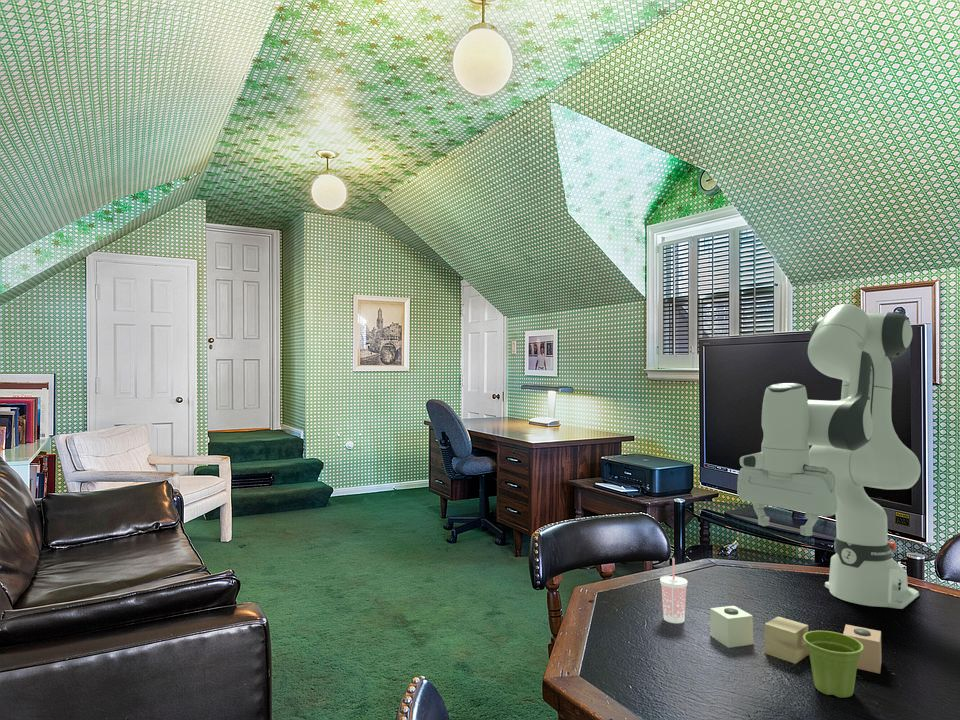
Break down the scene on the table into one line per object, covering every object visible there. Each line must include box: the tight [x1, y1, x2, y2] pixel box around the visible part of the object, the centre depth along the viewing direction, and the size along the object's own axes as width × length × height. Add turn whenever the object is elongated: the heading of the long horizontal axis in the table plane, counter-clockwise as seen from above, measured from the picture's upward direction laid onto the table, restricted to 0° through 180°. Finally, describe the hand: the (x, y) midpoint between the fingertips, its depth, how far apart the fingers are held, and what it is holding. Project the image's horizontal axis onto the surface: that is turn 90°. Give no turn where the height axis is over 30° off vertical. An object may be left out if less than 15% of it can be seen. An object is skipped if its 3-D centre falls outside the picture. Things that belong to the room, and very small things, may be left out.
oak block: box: [764, 616, 810, 665], centre depth 127 cm, size 6×6×6 cm
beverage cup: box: [659, 557, 689, 624], centre depth 144 cm, size 6×6×14 cm
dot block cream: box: [709, 605, 754, 649], centre depth 133 cm, size 6×6×6 cm
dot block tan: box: [842, 623, 882, 675], centre depth 123 cm, size 6×6×6 cm
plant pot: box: [803, 630, 863, 699], centre depth 112 cm, size 9×9×9 cm
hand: (784, 530), depth 128 cm, fingers open, 8 cm apart
